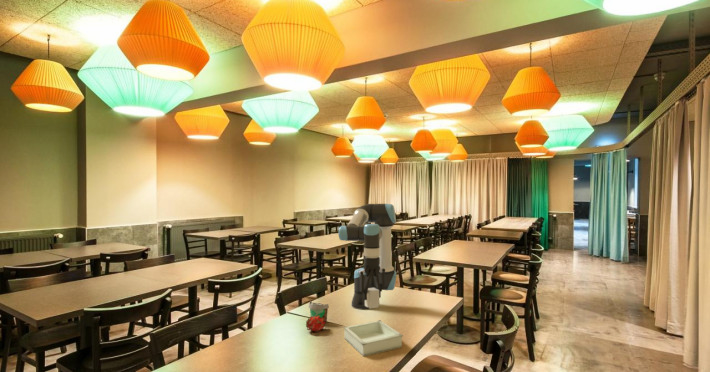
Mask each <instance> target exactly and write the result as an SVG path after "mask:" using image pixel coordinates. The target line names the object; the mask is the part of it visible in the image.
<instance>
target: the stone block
mask: <svg viewBox="0 0 710 372" xmlns="http://www.w3.org/2000/svg"><path fill="white" fill-rule="evenodd" d="M367 293H369V307H368V308H370V309H376V308H380V298H379V290H378V289H376V288H368V291H367ZM370 309H369V310H370Z"/></svg>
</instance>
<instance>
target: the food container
mask: <svg viewBox="0 0 710 372" xmlns="http://www.w3.org/2000/svg"><path fill="white" fill-rule="evenodd" d="M308 308H309V313H310V317H313V316H316V317H317V316H318V315H319V316H320V318H324V319H325V321H326V323H327V321H328V320H327V319H328V312H329V311H328V309H329V303H326V304H322V303H319V302H317V303H316V302H312V300H310V301H309V303H308Z"/></svg>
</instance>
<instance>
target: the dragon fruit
mask: <svg viewBox="0 0 710 372" xmlns="http://www.w3.org/2000/svg"><path fill="white" fill-rule="evenodd" d="M305 322H306V324H305V325H306V326H305V327H306V328H307V330H306V331H311V332H312V333H313V332H315V333H318V332H320V331H323V330H324V327H325V326H326V324H327V322H326V321H325V319H324V318H320V316H319V315H318V316H317V317H316V316H313V317H311V316H309V318H307V320H306V321H305Z"/></svg>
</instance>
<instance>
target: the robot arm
mask: <svg viewBox="0 0 710 372" xmlns="http://www.w3.org/2000/svg"><path fill="white" fill-rule="evenodd" d="M396 217H397V216H396V209H395V206H394V205H393V204H391V203H367V204H363V205H360V206H359V207H357V208H356V209H355V210H354V211H353V213H352V217H351V219H350V221H349V222H348V223H347V225H340V226H339V227H338V239H339V240H340V241H345V242H351V241H352V242H363V256H364V257H363V267H360V268H357V269H355V270H354V273H353V274H354V275H353V279H354V280H353V283H354V285H353V289H354V290H353V292H354V293H353V296H352V299H351V306H352V308H354V309H358V310H366V309H367V310H370V308H368V307H369V293H367V291H368V288H376V289H378V290H379V299H380V298H381V296H382V292H383V291H393V290H395V286H396V281H397V273H398V272H397V271H396V270H395V267H394V266H393V265H392V228H393V227H394V224H395V223H397V220H396V219H397V218H396Z"/></svg>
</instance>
